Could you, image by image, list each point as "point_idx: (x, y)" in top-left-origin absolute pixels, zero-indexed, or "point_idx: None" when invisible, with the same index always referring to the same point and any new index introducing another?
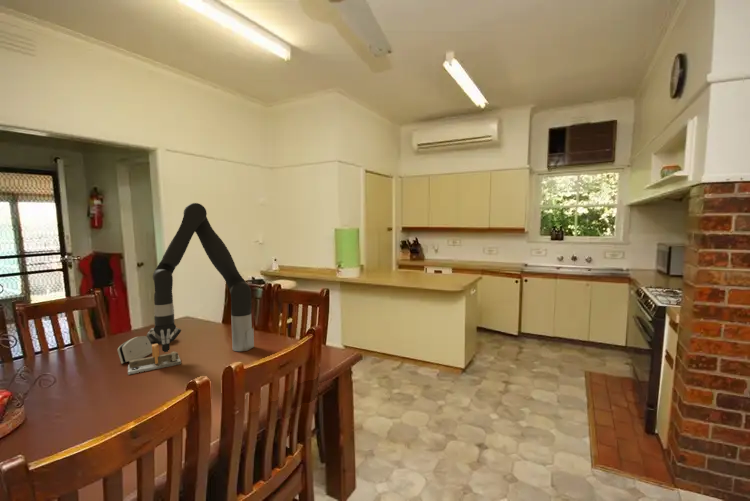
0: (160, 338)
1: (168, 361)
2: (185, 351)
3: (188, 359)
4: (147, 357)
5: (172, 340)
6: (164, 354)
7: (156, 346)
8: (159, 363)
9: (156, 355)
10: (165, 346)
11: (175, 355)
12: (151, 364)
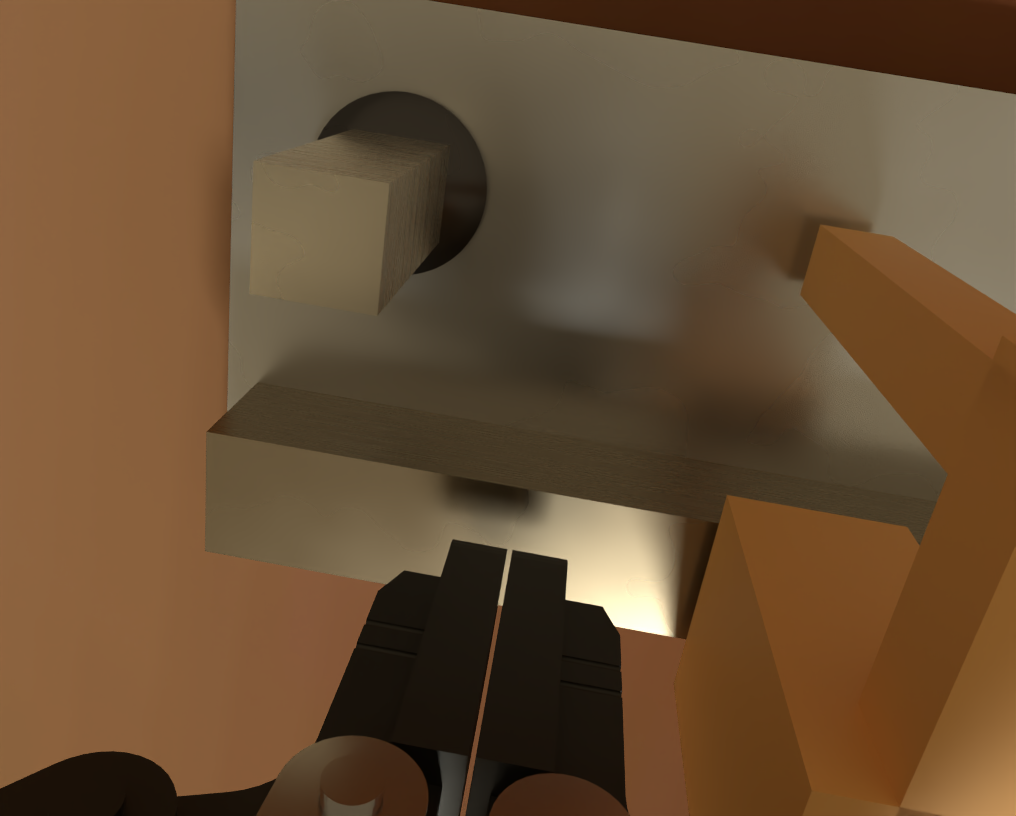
0: None
1: (524, 249)
2: None
3: (62, 218)
4: None
5: (93, 794)
6: None
7: (967, 700)
8: (757, 267)
9: (946, 296)
10: (500, 684)
11: (293, 421)
12: None
